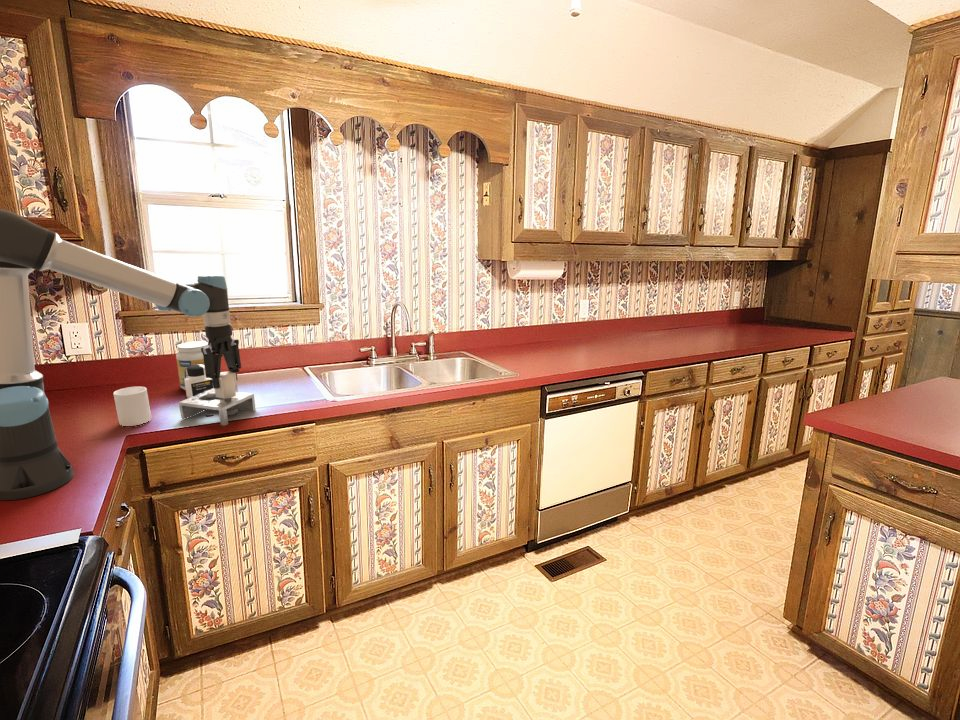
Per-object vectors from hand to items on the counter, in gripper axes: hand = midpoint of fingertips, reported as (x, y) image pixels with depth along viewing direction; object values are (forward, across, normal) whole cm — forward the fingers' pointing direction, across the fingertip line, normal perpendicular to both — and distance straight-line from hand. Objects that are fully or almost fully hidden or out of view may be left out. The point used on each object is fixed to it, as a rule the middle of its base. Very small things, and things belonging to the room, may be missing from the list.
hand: (227, 394), depth 162 cm
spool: (+6, 0, 0) cm, 6 cm away
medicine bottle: (+8, +12, +24) cm, 28 cm away
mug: (+8, -12, +26) cm, 30 cm away
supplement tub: (+8, +21, +34) cm, 41 cm away
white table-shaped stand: (+8, 0, +4) cm, 9 cm away
